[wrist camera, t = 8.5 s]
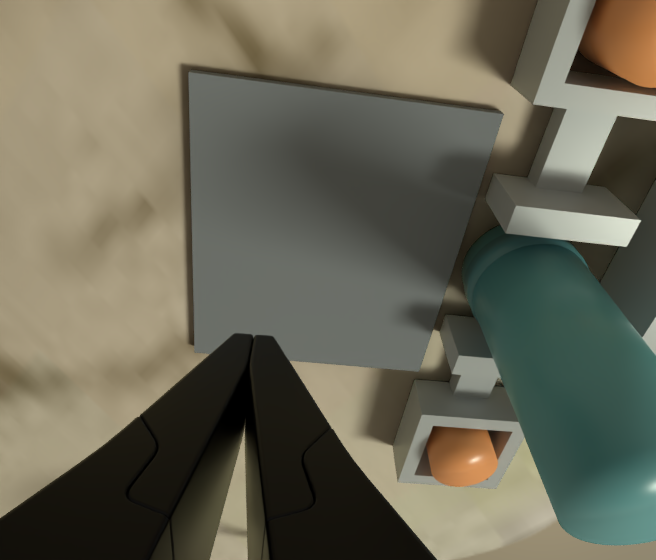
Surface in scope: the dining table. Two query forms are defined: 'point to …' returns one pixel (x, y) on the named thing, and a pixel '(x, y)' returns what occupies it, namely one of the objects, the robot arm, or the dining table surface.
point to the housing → (544, 234)
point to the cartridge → (571, 382)
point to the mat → (328, 215)
